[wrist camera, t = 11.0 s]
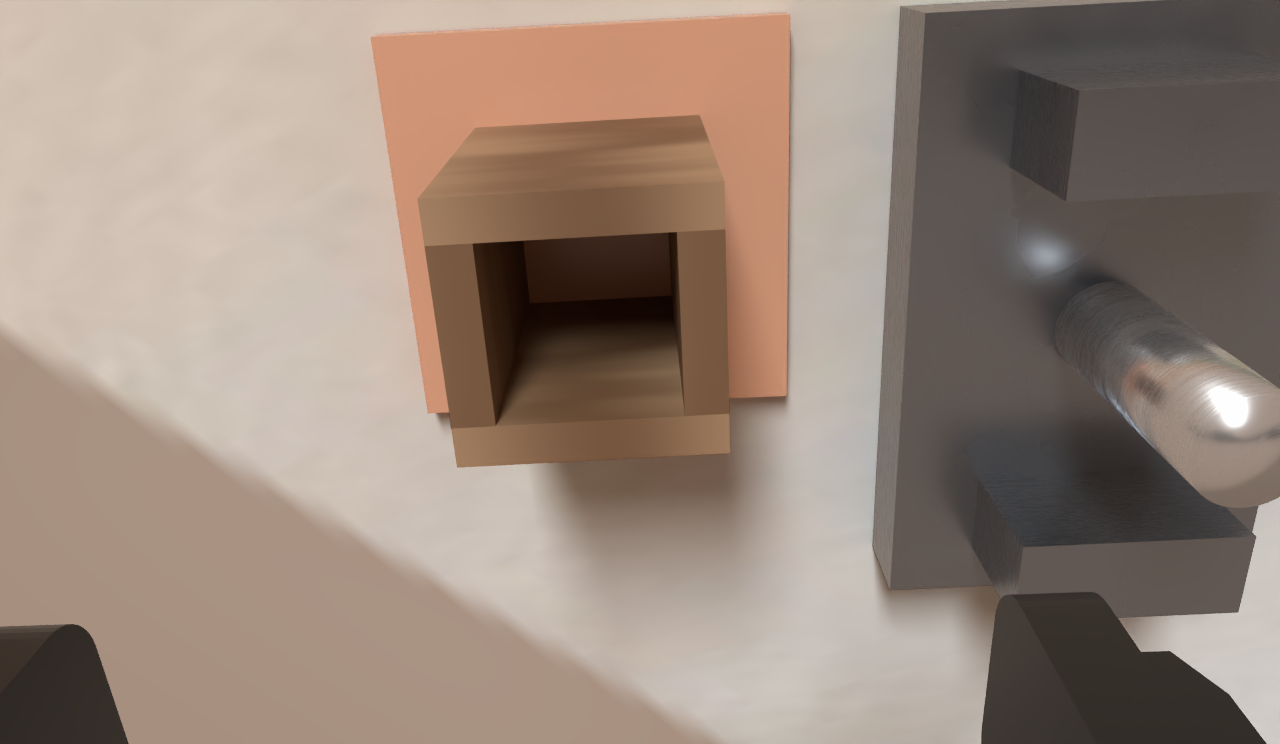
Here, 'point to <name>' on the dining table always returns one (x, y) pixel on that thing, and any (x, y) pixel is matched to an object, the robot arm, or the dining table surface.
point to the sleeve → (588, 329)
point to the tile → (608, 90)
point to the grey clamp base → (1082, 300)
